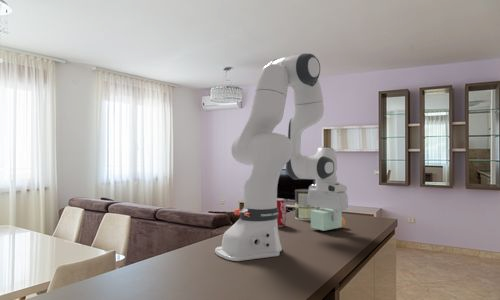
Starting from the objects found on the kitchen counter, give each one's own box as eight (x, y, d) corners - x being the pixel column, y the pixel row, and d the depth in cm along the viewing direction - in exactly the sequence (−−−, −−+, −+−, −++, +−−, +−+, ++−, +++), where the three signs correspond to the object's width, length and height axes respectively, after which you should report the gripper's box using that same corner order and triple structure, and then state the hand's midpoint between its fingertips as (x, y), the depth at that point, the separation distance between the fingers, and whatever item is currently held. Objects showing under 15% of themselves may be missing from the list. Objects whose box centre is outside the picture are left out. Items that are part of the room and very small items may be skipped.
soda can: (285, 224, 155) (285, 198, 155) (286, 227, 148) (285, 200, 148) (270, 224, 156) (270, 197, 156) (269, 227, 149) (269, 199, 149)
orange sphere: (338, 225, 144) (342, 215, 145) (329, 223, 148) (334, 213, 149) (344, 231, 146) (349, 220, 147) (335, 228, 150) (340, 218, 152)
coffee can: (290, 218, 170) (290, 189, 170) (304, 215, 176) (304, 188, 176) (306, 221, 162) (306, 191, 162) (320, 218, 168) (320, 190, 168)
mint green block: (323, 230, 137) (323, 213, 137) (310, 227, 143) (310, 210, 143) (341, 227, 143) (341, 210, 143) (328, 224, 149) (328, 207, 149)
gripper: (303, 184, 150) (303, 215, 150) (339, 188, 133) (339, 223, 133) (314, 183, 154) (314, 214, 154) (350, 187, 137) (350, 221, 137)
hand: (326, 218), depth 143 cm, fingers closed on mint green block, 7 cm apart
